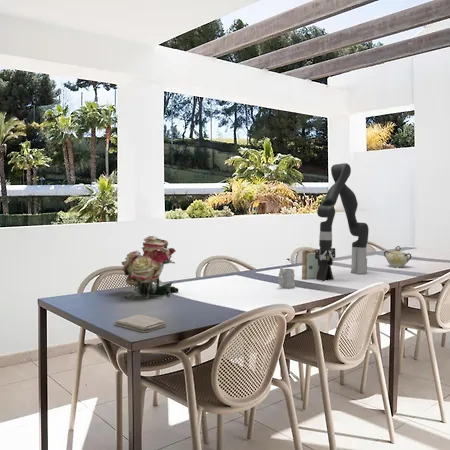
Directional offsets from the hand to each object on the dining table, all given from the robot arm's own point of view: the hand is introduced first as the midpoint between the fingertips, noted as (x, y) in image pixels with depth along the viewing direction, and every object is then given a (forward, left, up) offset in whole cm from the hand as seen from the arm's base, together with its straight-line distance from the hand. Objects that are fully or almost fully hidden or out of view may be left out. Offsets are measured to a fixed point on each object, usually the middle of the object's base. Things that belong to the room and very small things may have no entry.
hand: (325, 265), depth 300 cm
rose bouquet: (+111, -8, -9) cm, 112 cm away
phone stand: (0, 0, -9) cm, 9 cm away
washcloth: (+136, +44, -9) cm, 143 cm away
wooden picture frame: (+1, -7, -8) cm, 11 cm away
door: (+1, -7, -8) cm, 10 cm away
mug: (+37, +9, -9) cm, 39 cm away
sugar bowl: (-83, -15, -9) cm, 85 cm away
